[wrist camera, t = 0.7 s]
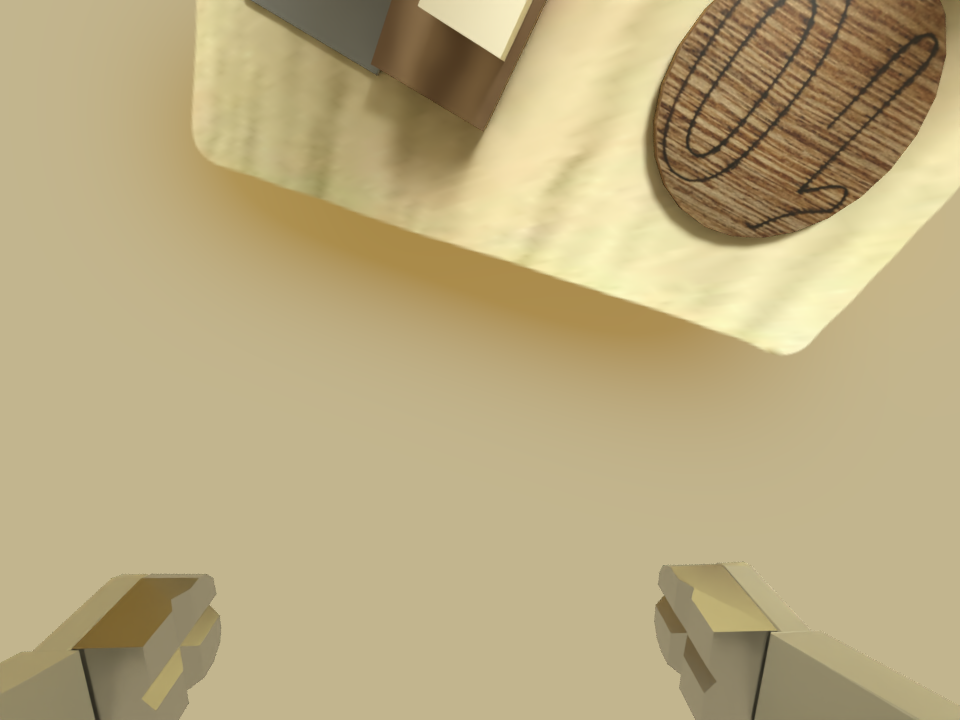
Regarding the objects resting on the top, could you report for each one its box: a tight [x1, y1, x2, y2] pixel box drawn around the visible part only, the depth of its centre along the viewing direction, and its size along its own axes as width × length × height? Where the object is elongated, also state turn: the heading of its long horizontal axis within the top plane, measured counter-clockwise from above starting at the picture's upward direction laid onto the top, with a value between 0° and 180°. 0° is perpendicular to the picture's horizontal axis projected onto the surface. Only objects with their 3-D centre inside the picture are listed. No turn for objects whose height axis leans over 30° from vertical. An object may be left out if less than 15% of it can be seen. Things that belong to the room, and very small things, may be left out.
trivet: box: [653, 0, 946, 238], centre depth 45 cm, size 25×25×2 cm
